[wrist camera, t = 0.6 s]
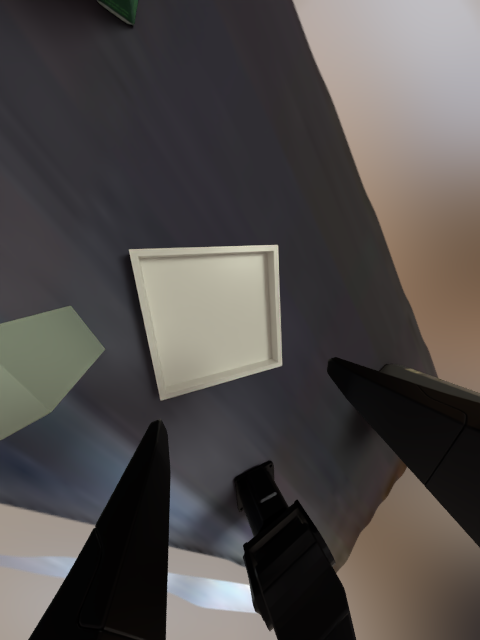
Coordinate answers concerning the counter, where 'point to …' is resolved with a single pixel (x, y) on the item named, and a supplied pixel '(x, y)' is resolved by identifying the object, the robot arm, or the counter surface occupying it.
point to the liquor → (430, 382)
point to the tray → (209, 313)
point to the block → (41, 364)
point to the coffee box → (122, 9)
